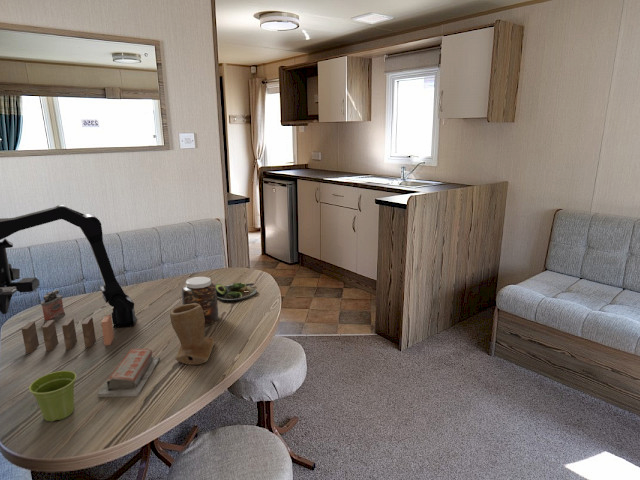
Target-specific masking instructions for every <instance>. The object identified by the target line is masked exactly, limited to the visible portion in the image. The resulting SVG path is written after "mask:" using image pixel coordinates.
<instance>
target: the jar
mask: <svg viewBox="0 0 640 480" xmlns="http://www.w3.org/2000/svg"><path fill="white" fill-rule="evenodd" d="M215 285H216V284H215V283H214V282H212V281H211V278H210V277H208V276H195V277H190V278H188V279H186V280H185V284H184V285H183V286H182V288H181V301H182V305H185V304H192V303H197V304H199V305H201V307H202V309H203V313H204V318H205V325H204V327H208V326H211V325H213V324H216V323H217V322H218V320H219V304H218V303H219V302H218V300H217V291H216V286H215ZM215 322H216V323H215Z"/></svg>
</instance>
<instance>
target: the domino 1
mask: <svg viewBox="0 0 640 480" xmlns="http://www.w3.org/2000/svg"><path fill="white" fill-rule="evenodd" d="M21 334H22V338H23V339H22V340H23V344H24V349H25V354H32V353H33V352H34V351H35V350H36V349H37V348H38V347H39V346H40V343H39V337H38V331H37V326H36V322H35V321H29V322H27V323H26V324H25V325H24V326H23V327H22V328H21Z"/></svg>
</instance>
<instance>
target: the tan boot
mask: <svg viewBox="0 0 640 480" xmlns="http://www.w3.org/2000/svg"><path fill="white" fill-rule="evenodd" d="M169 315H170V316H169V318H170V323H171V326H172V329H173V330H174V332H175V334H176V336H177V338H178V340H179V343H180V346H179V349H178V352H177V355H176V357H175V360H176V361H177V362H179V363H182V364H186V365H190V366H191V365H193V366H195V365H201V364H204V363H207V361H208V360H209V359H210V356H211V353H212V351H213V348H214V345H215V339H214V337H210V336H209V337H208V336H205V326H204V325H205V318H204V313H203V309H202V307H201V305H199V304H197V303H192V304H185V305H183V304H182V305H179V306H177V307H174V308H173V309H171V311H170V313H169Z"/></svg>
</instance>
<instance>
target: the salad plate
mask: <svg viewBox="0 0 640 480" xmlns="http://www.w3.org/2000/svg"><path fill="white" fill-rule="evenodd" d="M254 285H255V283H254V282H251V283H250V282H249V283H246V282H243V283H242V282H234V283H231V284H227V285H225V286H224V285H223V284H221V283H216V284H215V286H216V291H217V301H219V302H222V303H236V301H237V302H240V300H241V301H242V300H246V299H248V298H250V297H253V296H254V295H255V294H256V293H257V292H258V290H257V288H254V287H252V286H254ZM244 291H249V292H250V295H249V294H247V295H246V296H243V294H245V293H244ZM245 298H246V299H245Z"/></svg>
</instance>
